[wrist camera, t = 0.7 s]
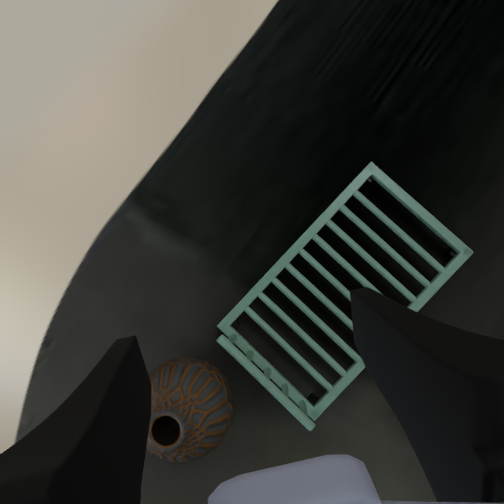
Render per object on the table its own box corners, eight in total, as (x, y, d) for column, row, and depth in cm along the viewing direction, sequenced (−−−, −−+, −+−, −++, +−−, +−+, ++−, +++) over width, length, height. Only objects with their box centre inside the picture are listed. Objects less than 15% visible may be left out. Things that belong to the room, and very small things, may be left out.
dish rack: (463, 253, 35) (502, 248, 29) (312, 412, 35) (318, 442, 29) (366, 167, 36) (383, 144, 30) (220, 323, 36) (206, 333, 30)
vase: (186, 333, 37) (154, 350, 28) (255, 386, 36) (244, 421, 27) (135, 402, 37) (87, 441, 28) (203, 457, 36) (176, 514, 27)
